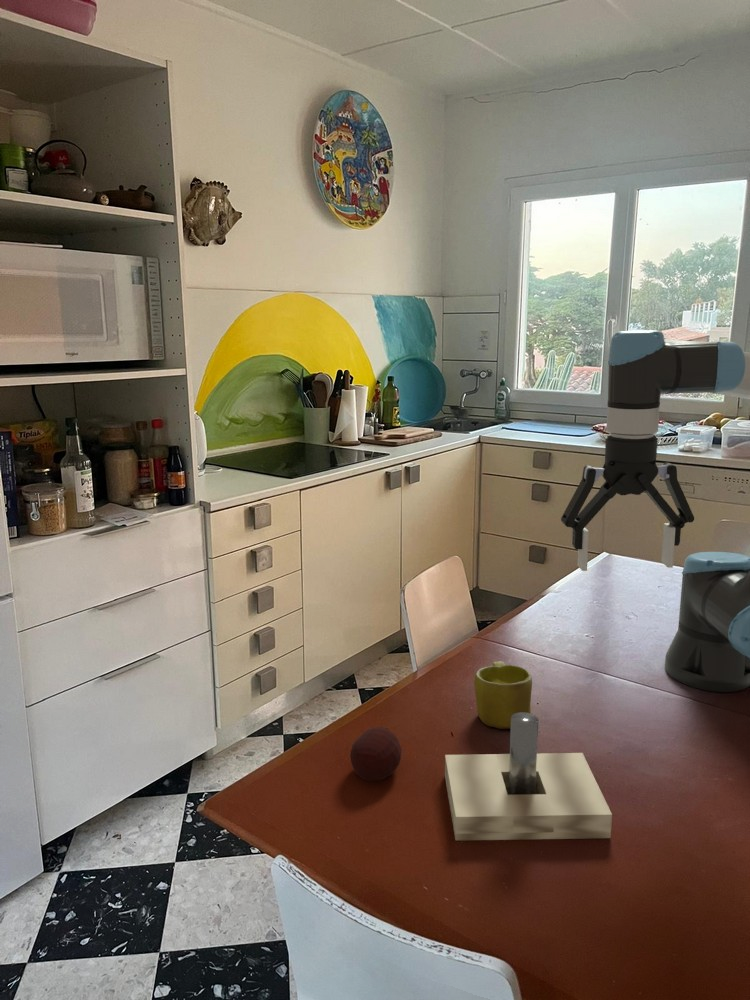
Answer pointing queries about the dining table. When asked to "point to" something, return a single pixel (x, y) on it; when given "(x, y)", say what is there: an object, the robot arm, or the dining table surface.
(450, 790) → the block
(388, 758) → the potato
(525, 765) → the pin
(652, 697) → the dining table surface
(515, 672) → the mug
